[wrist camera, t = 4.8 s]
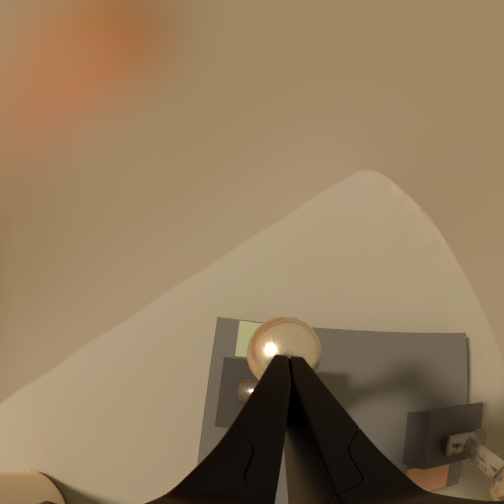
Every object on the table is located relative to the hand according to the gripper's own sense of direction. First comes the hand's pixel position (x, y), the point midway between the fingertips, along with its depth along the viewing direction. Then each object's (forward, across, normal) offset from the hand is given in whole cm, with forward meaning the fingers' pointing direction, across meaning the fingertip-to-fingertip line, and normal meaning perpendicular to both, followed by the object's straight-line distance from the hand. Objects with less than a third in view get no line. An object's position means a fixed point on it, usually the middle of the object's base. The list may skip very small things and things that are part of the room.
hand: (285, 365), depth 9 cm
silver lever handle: (+2, -13, +8) cm, 16 cm away
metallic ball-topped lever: (+4, 0, +6) cm, 8 cm away
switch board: (+6, -7, +10) cm, 14 cm away
